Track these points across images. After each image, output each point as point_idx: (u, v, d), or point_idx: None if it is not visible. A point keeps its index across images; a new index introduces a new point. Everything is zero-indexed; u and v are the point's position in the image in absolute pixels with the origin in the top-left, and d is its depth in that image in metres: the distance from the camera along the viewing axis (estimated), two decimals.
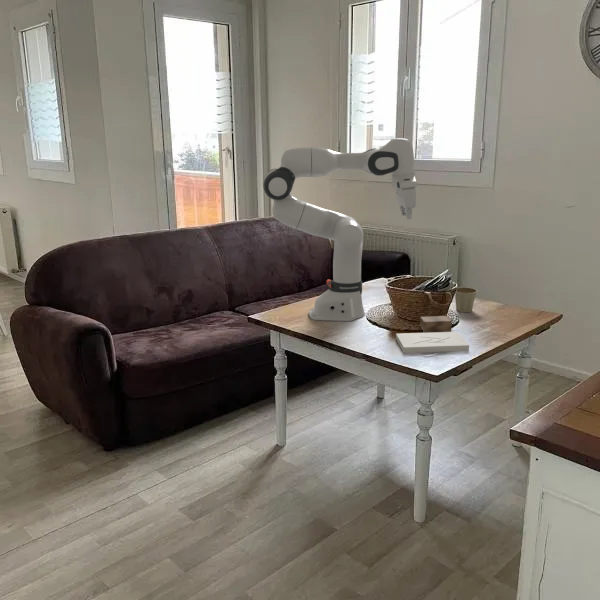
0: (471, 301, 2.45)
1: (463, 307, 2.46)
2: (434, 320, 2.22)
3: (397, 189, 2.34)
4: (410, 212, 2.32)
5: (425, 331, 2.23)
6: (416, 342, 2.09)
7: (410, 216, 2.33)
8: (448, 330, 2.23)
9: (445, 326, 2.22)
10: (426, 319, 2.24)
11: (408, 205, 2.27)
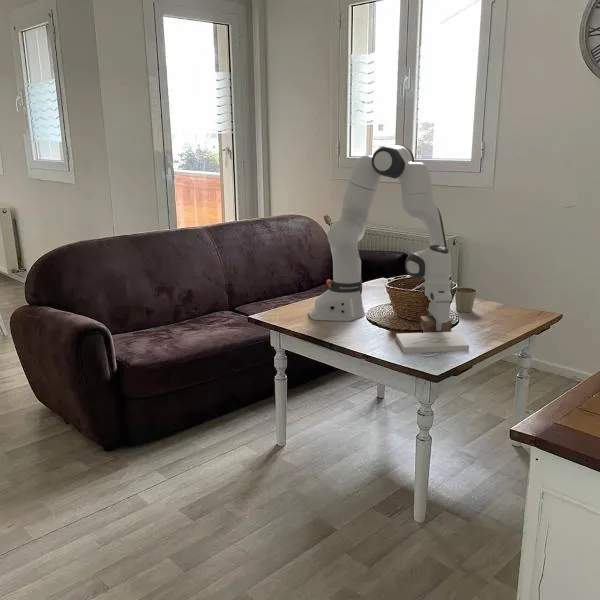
0: (471, 301, 2.45)
1: (463, 307, 2.46)
2: (433, 320, 2.22)
3: (429, 298, 2.21)
4: (440, 324, 2.20)
5: (425, 331, 2.23)
6: (416, 342, 2.09)
7: (440, 328, 2.21)
8: (448, 330, 2.23)
9: (445, 325, 2.22)
10: (425, 318, 2.24)
11: (441, 320, 2.14)
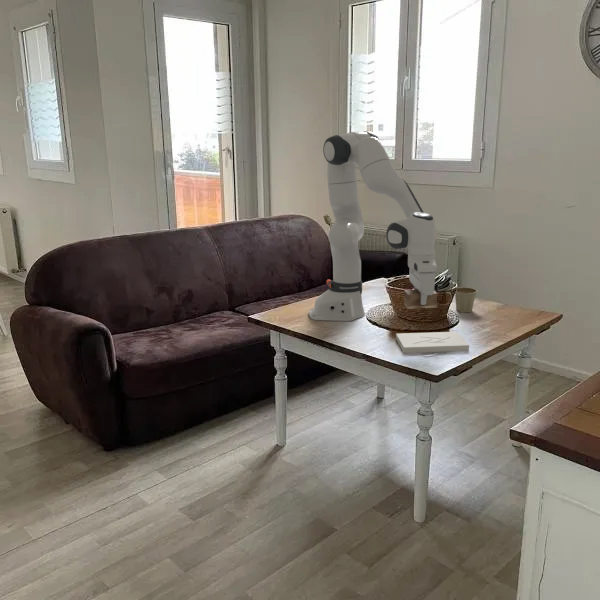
0: (471, 301, 2.45)
1: (463, 307, 2.46)
2: (418, 293, 2.06)
3: (413, 270, 2.05)
4: (425, 297, 2.04)
5: (409, 305, 2.07)
6: (416, 342, 2.09)
7: (425, 301, 2.05)
8: (434, 303, 2.07)
9: (430, 299, 2.06)
10: (410, 292, 2.08)
11: (425, 292, 1.98)
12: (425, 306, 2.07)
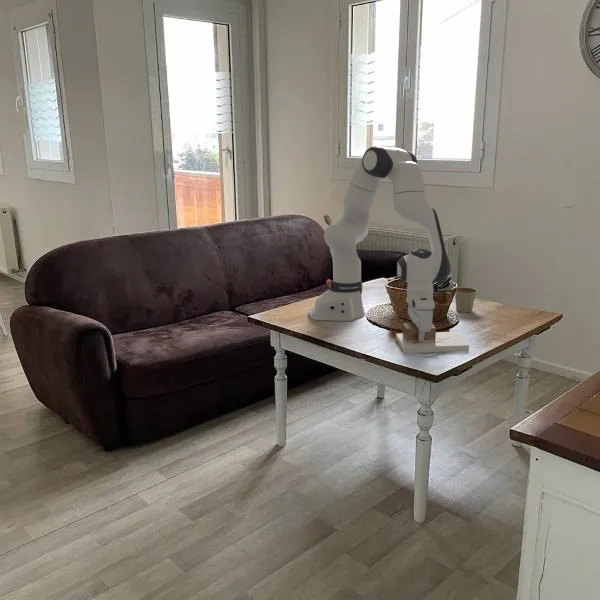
0: (471, 301, 2.45)
1: (463, 307, 2.46)
2: (417, 328, 2.08)
3: (411, 306, 2.07)
4: (423, 333, 2.06)
5: (407, 339, 2.08)
6: None
7: (422, 337, 2.07)
8: (432, 338, 2.09)
9: (428, 333, 2.08)
10: (408, 326, 2.10)
11: (423, 329, 2.00)
12: (423, 340, 2.09)
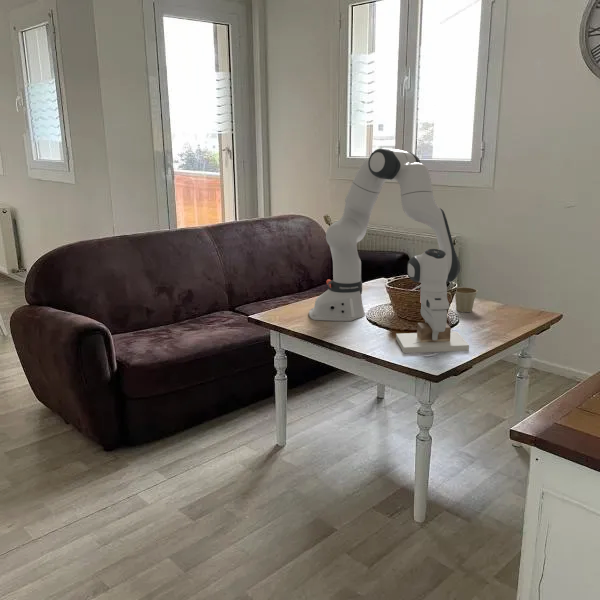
0: (471, 301, 2.45)
1: (463, 307, 2.46)
2: None
3: (425, 306, 2.08)
4: (437, 333, 2.06)
5: (422, 338, 2.09)
6: (416, 342, 2.09)
7: (436, 337, 2.07)
8: (447, 337, 2.09)
9: (443, 333, 2.09)
10: (423, 325, 2.10)
11: (437, 329, 2.01)
12: (438, 340, 2.09)
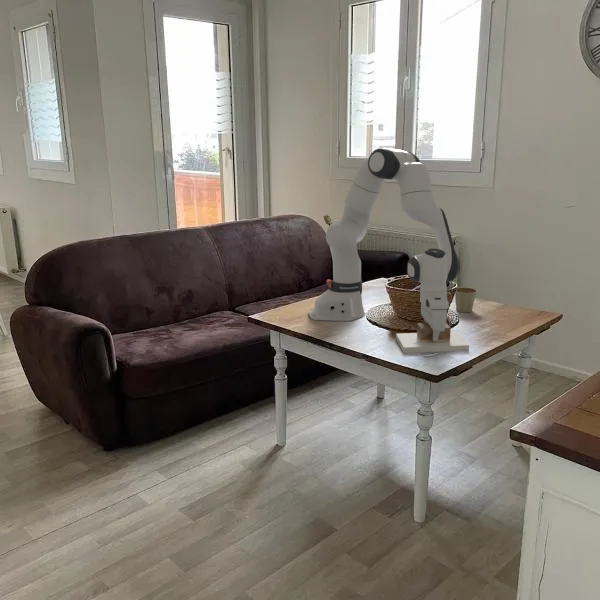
0: (471, 301, 2.45)
1: (463, 307, 2.46)
2: None
3: (425, 305, 2.07)
4: (437, 334, 2.05)
5: (422, 338, 2.09)
6: (416, 342, 2.09)
7: (437, 338, 2.06)
8: (447, 337, 2.09)
9: (443, 333, 2.08)
10: (423, 325, 2.10)
11: (437, 329, 2.00)
12: (438, 340, 2.09)
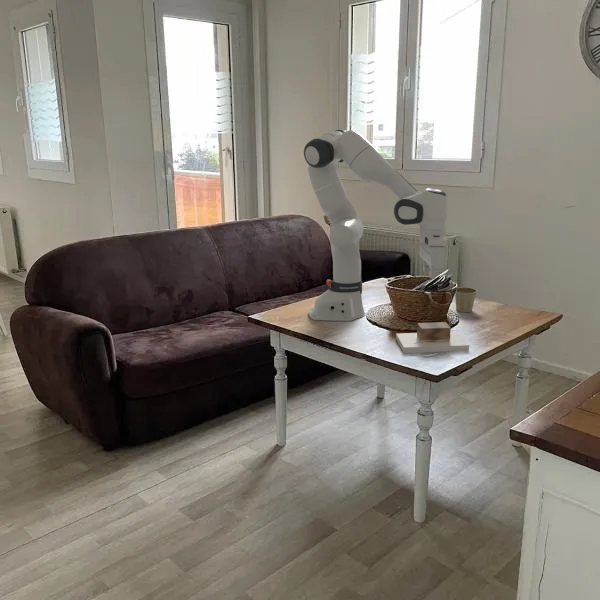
0: (471, 301, 2.45)
1: (463, 307, 2.46)
2: (431, 327, 2.08)
3: (424, 244, 2.12)
4: (435, 272, 2.10)
5: (422, 338, 2.09)
6: (416, 342, 2.09)
7: (434, 276, 2.11)
8: (447, 337, 2.09)
9: (443, 333, 2.08)
10: (423, 325, 2.10)
11: (435, 265, 2.05)
12: (438, 340, 2.09)
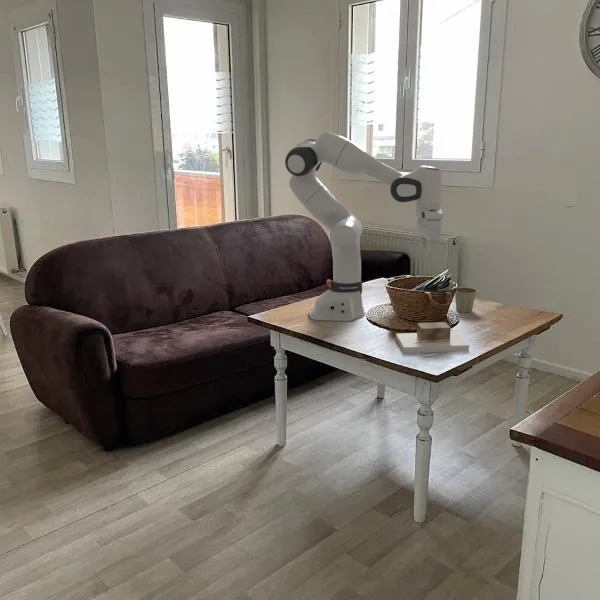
0: (471, 301, 2.45)
1: (463, 307, 2.46)
2: (431, 327, 2.08)
3: (421, 219, 2.22)
4: (432, 244, 2.20)
5: (422, 338, 2.09)
6: (416, 342, 2.09)
7: (432, 249, 2.21)
8: (447, 337, 2.09)
9: (443, 333, 2.08)
10: (423, 325, 2.10)
11: (432, 238, 2.15)
12: (438, 340, 2.09)
